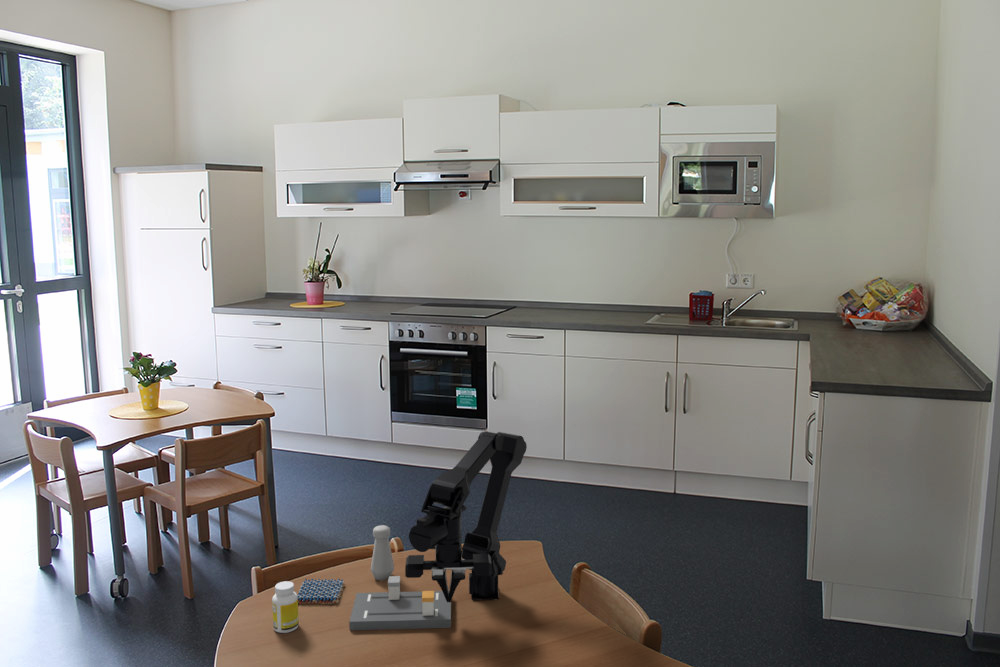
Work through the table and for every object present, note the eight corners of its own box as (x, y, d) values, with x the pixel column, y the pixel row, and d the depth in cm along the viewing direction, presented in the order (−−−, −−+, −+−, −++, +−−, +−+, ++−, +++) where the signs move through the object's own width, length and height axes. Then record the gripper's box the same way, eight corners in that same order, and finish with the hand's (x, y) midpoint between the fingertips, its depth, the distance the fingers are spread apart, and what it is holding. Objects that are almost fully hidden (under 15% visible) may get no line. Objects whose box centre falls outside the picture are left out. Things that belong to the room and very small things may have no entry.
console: (451, 598, 189) (451, 590, 189) (450, 627, 176) (450, 619, 176) (356, 600, 188) (356, 592, 187) (349, 630, 175) (349, 621, 175)
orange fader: (434, 608, 180) (434, 590, 180) (434, 615, 177) (433, 597, 176) (422, 608, 180) (422, 591, 179) (422, 615, 177) (421, 598, 176)
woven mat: (346, 584, 197) (346, 577, 196) (338, 606, 186) (338, 598, 186) (303, 585, 196) (303, 577, 196) (293, 607, 186) (292, 598, 186)
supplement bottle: (303, 623, 178) (302, 581, 176) (289, 635, 173) (288, 592, 171) (282, 619, 180) (280, 577, 178) (268, 631, 174) (266, 588, 173)
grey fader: (400, 592, 187) (400, 576, 186) (399, 599, 184) (399, 582, 183) (389, 593, 187) (389, 576, 186) (388, 599, 184) (387, 582, 183)
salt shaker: (396, 572, 202) (396, 523, 200) (391, 582, 197) (390, 532, 195) (373, 571, 203) (373, 522, 201) (368, 581, 197) (367, 531, 195)
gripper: (489, 519, 184) (489, 583, 187) (407, 521, 183) (408, 585, 186) (491, 540, 173) (491, 607, 176) (404, 541, 172) (405, 609, 175)
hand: (448, 601), depth 178 cm, fingers closed
